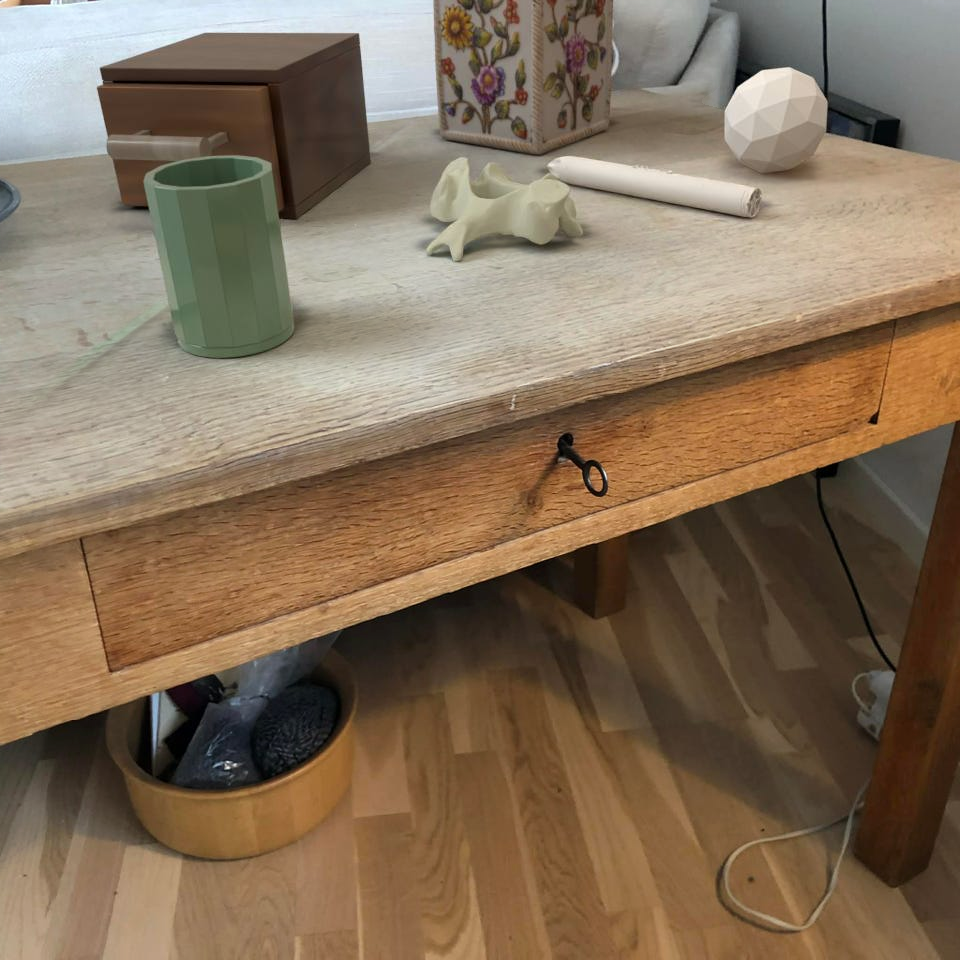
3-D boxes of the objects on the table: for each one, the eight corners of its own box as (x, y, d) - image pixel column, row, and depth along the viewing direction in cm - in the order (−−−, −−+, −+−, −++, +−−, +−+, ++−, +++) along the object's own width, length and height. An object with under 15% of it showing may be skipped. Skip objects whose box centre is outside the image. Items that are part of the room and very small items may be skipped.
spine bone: (381, 264, 71) (366, 200, 67) (471, 199, 76) (462, 137, 72) (517, 309, 64) (508, 241, 61) (606, 235, 69) (602, 169, 66)
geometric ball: (766, 211, 81) (747, 142, 74) (718, 153, 85) (696, 84, 79) (853, 157, 80) (841, 82, 73) (799, 102, 84) (784, 26, 78)
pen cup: (155, 353, 55) (118, 186, 50) (212, 307, 60) (183, 153, 55) (264, 363, 53) (236, 192, 49) (312, 315, 59) (292, 156, 54)
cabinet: (297, 219, 74) (277, 69, 69) (130, 210, 78) (98, 67, 72) (371, 162, 87) (359, 32, 82) (225, 157, 91) (204, 32, 85)
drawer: (251, 232, 69) (230, 103, 65) (88, 223, 72) (58, 99, 68) (351, 159, 85) (340, 51, 80) (214, 155, 88) (196, 50, 83)
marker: (538, 181, 80) (538, 151, 79) (554, 175, 82) (554, 146, 81) (746, 221, 70) (749, 187, 69) (760, 214, 72) (764, 180, 70)
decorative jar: (538, 157, 87) (537, -83, 77) (435, 140, 93) (422, -84, 84) (614, 129, 94) (621, -93, 85) (514, 115, 101) (511, -93, 91)
